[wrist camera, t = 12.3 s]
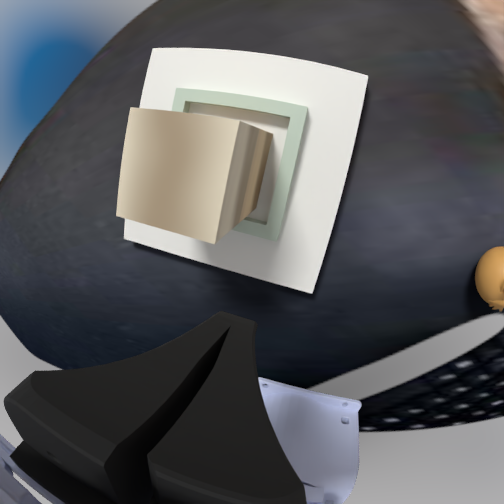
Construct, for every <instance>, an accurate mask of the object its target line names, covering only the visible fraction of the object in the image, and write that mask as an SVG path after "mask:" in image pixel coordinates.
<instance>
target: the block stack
mask: <svg viewBox="0 0 504 504" xmlns="http://www.w3.org/2000/svg"><path fill="white" fill-rule="evenodd" d="M272 137H273V134H272V133H270V132H267V131H265V130H262V129H260V128H257V127H254V126H252V125H249V124H247V123H244V122H241V121H237V120H232V119H226V118H220V117H213V116H207V115H200V114H192V113H184V112H176V111H167V110H157V109H145V108H130V114H129V119H128V125H127V130H126V136H125V143H124V149H123V157H122V164H121V172H120V181H119V190H118V201H117V213H116V216H119V217H122V218H126V219H129V220H132V221H136V222H139V223H143V224H146V225H150V226H153V227H157V228H160V229H163V230H167V231H170V232H174V233H177V234H181V235H184V236H188V237H191V238H195V239H198V240H201V241H205V242H208V243H212V244H216V243H217V242H218V241H219V240H220V239H221V238H223V237H224V236H225V235H226V234H227V233H228V232H229V231H231V230H232V229H233V228H234V227H235V226H236V225H237V224H239V223H240V222H241V221H242V220H243V219H244V218H245V217H247V216H248V215H249V214H250V213H251V212H252V211H254V210H255V209H256V207H257V202H258V198H259V194H260V189H261V185H262V180H263V176H264V172H265V167H266V163H267V158H268V154H269V150H270V145H271V141H272Z"/></svg>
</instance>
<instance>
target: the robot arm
mask: <svg viewBox="0 0 504 504" xmlns="http://www.w3.org/2000/svg"><path fill="white" fill-rule="evenodd" d="M257 326H258V325H257V323H256V322H255V321H252V320H249V319H246V318H242V317H239V316H236V315H232V314H229V313H226V312H223V311H220V312H218V313H216V314H215V315H213V316H212V317H211V318H209V319H208V320H206V321H205V322H203V323H201V324H200V325H198V326H197V327H195V328H193V329H192V330H190V331H188V332H187V333H185V334H183V335H181V336H180V337H178V338H176V339H174V340H172V341H170V342H168V343H166V344H164V345H162V346H160V347H158V348H155V349H153V350H151V351H148V352H146V353H143V354H140V355H138V356H135V357H132V358H128V359H124V360H121V361H117V362H113V363H109V364H105V365H100V366H94V367H88V368H81V369H72V370H55V371H54V370H53V371H34V372H33V373H32V374H30V375H29V376H28V377H27V378H26V379H25V380H23V381H22V382H21V383H20V384H19V385H18V386H17V387H16V388H15V389H14V390H12V391H11V392H10V393H9V394H8V395H7V396H6V397H5V398H4V406H5V409H6V411H7V413H8V415H9V417H10V419H11V421H12V422H13V424H14V426H15V427H16V429H17V431H18V432H19V434H20V435H21V437H22V438H23V440H24V441H22V443H21V444H20V445H19V446H18V447H17V448H15V447H13V446H12V445H11V444H10V443H9V442H8V441H7V440H6V439H5V438H4V437H3V436H1V434H0V504H41V503H40V502H39V501H38V500H37V499H36V498H35V497H34V496H33V495H32V494H31V493H30V492H29V491H28V490H27V489H26V488H25V487H23V485H21V484H20V483H19V482H18V481H17V480H16V479H15V478H14V477H13V472H15V473H16V474H17V475H18V476H19V477H20V478H21V479H22V480H24V481H25V482H26V483H27V484H28V485H30V486H31V487H32V488H33V489H34V490H36V491H37V492H38V493H39V494H41V495H42V496H43V497H45V498H46V499H47V500H49V501H50V502H51V503H53V504H342V503H343V502H344V501H345V500H346V499H347V498H348V496H349V495H350V493H351V491H352V489H353V487H354V484H355V481H356V478H357V473H358V468H359V427H358V411H359V409H360V408H361V402H360V401H358V400H354V399H348V398H343V397H338V396H334V395H329V394H324V393H319V392H315V391H311V390H307V389H303V388H299V387H295V386H291V385H287V384H283V383H279V382H276V381H272V380H268V379H265V378H261V377H258V374H257V367H256V357H255V333H256V330H257ZM265 384H267V385H265ZM344 403H346V404H344ZM12 471H13V472H12Z"/></svg>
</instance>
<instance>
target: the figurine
mask: <svg viewBox="0 0 504 504" xmlns="http://www.w3.org/2000/svg"><path fill="white" fill-rule="evenodd" d="M475 283H476V288H477V290H478V293H479V294H480V296H481V297H482V299H483V300H484V301H486V302H487V303H489V306H490V307H493V306H494V307H493V308H492V309H500V312H501V311H502V309H503V308H504V247H495V248H492V249H490V250H488V251H487V252H486V253H485V254H484V255H483V256H482V257H481V259H480V260H479V262H478V264H477V267H476V272H475Z"/></svg>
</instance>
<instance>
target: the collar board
mask: <svg viewBox="0 0 504 504" xmlns="http://www.w3.org/2000/svg"><path fill="white" fill-rule="evenodd" d="M367 80H368V76H367V75H363V74H360V73H356V72H353V71H349V70H345V69H341V68H337V67H333V66H329V65H325V64H320V63H315V62H311V61H306V60H300V59H295V58H289V57H283V56H277V55H270V54H263V53H255V52H246V51H235V50H223V49H205V48H153V50H152V54H151V58H150V62H149V66H148V70H147V74H146V79H145V83H144V88H143V92H142V97H141V102H140V108H145V109H157V110H167V111H176V112H184V113H192V114H200V115H207V116H213V117H220V118H226V119H232V120H237V121H241V122H244V123H247V124H249V125H252V126H254V127H257V128H260V129H262V130H265V131H267V132H270V133H272V134H273V137H272V141H271V145H270V150H269V154H268V158H267V163H266V167H265V172H264V176H263V180H262V185H261V189H260V194H259V198H258V202H257V207H256V209H255V210H254V211H252V212H251V213H250V214H249V215H248V216H247V217H245V218H244V219H243V220H242V221H241V222H240V223H239V224H237V225H236V226H235V227H234V228H233V229H232V230H231V231H229V232H228V233H227V234H226V235H225V236H224V237H223V238H221V239H220V240H219V241H218V242H217V243H216V244H212V243H208V242H205V241H201V240H198V239H195V238H191V237H188V236H184V235H181V234H177V233H174V232H170V231H167V230H163V229H160V228H157V227H153V226H150V225H146V224H143V223H139V222H136V221H132V220H129V219H126V218H125V229H124V239H127V240H130V241H133V242H137V243H140V244H143V245H146V246H150V247H153V248H156V249H159V250H163V251H166V252H169V253H172V254H176V255H179V256H182V257H186V258H189V259H192V260H196V261H199V262H202V263H206V264H209V265H213V266H216V267H219V268H223V269H226V270H230V271H233V272H237V273H240V274H244V275H247V276H251V277H254V278H258V279H261V280H265V281H268V282H272V283H275V284H279V285H282V286H286V287H290V288H293V289H297V290H301V291H304V292H308V293H313V290H314V287H315V284H316V280H317V277H318V274H319V271H320V268H321V265H322V261H323V258H324V255H325V251H326V248H327V245H328V241H329V238H330V235H331V231H332V228H333V224H334V221H335V217H336V213H337V210H338V206H339V202H340V199H341V195H342V191H343V187H344V183H345V180H346V176H347V172H348V168H349V164H350V159H351V155H352V151H353V147H354V143H355V138H356V134H357V129H358V125H359V120H360V115H361V111H362V106H363V101H364V96H365V91H366V86H367Z"/></svg>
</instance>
